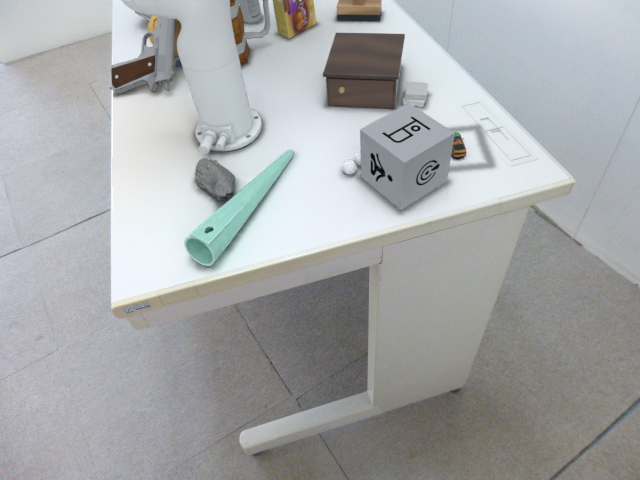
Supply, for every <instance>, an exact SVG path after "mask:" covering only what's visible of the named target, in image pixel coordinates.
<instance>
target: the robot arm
mask: <svg viewBox="0 0 640 480" xmlns="http://www.w3.org/2000/svg"><path fill="white" fill-rule="evenodd" d="M120 1H121V2H122V3H123V4H124V5H125V6H126V7H127V8H129V9H131V10H132V11H134V12H135V11H136V12H139V13H143V14H148V15H155V16H162V17H168V18H173V19H177V20H179V21H180V23H181V31H180V34H179V36H178V39H177V51H178V59H179V60H180V61H181V64H182V66H181V67H182V70H183V74H184V76H185V79H186V82H187V86H188V88H189V92H190V94H191V95H190V96H191V98H192V101H193V104H194V107H195V110H196V114H197V116H198V119H199V120H198V122H197V123H196V125H195V129H194V135H195V138H196V140H197V142H198V143H199V144H200V145H199V146H198V152H199V153H200V154H202V155H205V156H206V155H208V154H209V153H210V152H211V151H214V152H231V151H235V150H239V149H242V148H243V147H246V146H249V145H250V144H251V143H253V142H254V141H255V140H256V139H257V138H258V137H259V136H260V134H261V132H262V128H263V121H262V117H261V116H260V114H259V113H258V112H257V111H256V110H255V109H254V108H253V109H252V108H251V106H250V101H249V96H248V93H247V88H246V87H247V86H246V84H245V78H244V75H243V70H242V66H241V65H240V60H239V56H238V51H237V47H236V43H235V38H234V33H233V28H232V21H231V13H230V0H120Z"/></svg>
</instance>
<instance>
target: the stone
mask: <svg viewBox="0 0 640 480" xmlns="http://www.w3.org/2000/svg"><path fill="white" fill-rule="evenodd" d="M194 175H195V183H196V185H197V186H198V187H199V188H201V189H202V190H203V191H205V192H206V193H207V194H209V195H210V196H212V198H213V199H214V200H217V201H229V200H230V199H231V198H232V197H233V196H234V195H235V193H236V192H235V191H236V187H235V185H236V184H235V183H236V176H235V174H233V172H231V171H230V170H229V169H228V168H226V167H225V166H223V165H222V164H220V163H219V162H218V160H217V159H214V160H213V159H209V158H207V157H203V158H200V159H199V160H198V162H197V163H196V166H195V172H194Z"/></svg>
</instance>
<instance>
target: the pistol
mask: <svg viewBox="0 0 640 480" xmlns="http://www.w3.org/2000/svg"><path fill="white" fill-rule="evenodd" d="M175 29H176V19H173V18H168V17H162V16H157V27H156V29H155V30H154V31H152V32H148V31H147V32H145V33H144V34H143V37H142V40H141V51H140V54H139V55H138V57H135V58H133V59H130V60H126V61H122V62H119V63H115V64H111V67H110V76H111V77H110V86H109V90H111V91H113V92H114V93H116V94H117V95H119V94H123V93H125V92H127V91H129V90H132V89H135V88H137V87H140V86H142V85H146V84H148V85H149V89H150V90H152V91H153V92H157V91H158V87H159V86H161V85H164V87H165V89H166V91H167V92H169V91H170V90H171V87H170V83H172V82H173V79H174V76H175V75H176V72H174V65H175V64H174V63H175V56H174V41H175ZM150 36H154V46H153V45H152V46H147V43H148V42H147V41H148V39H149V37H150Z"/></svg>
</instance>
